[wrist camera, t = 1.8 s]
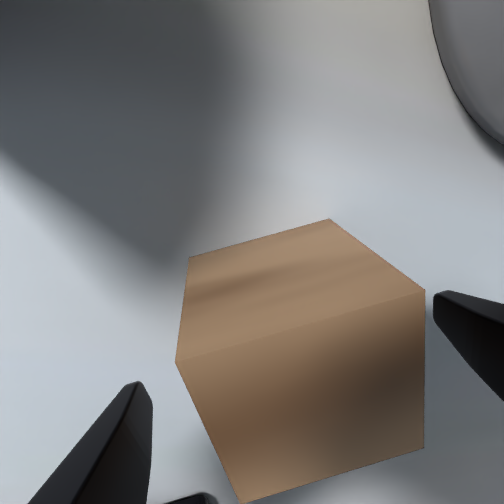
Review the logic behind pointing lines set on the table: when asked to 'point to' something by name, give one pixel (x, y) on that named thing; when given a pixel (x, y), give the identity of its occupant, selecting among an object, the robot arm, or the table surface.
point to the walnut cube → (302, 357)
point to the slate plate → (474, 56)
